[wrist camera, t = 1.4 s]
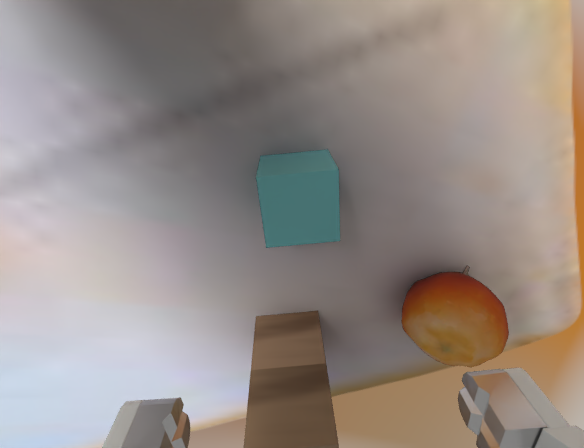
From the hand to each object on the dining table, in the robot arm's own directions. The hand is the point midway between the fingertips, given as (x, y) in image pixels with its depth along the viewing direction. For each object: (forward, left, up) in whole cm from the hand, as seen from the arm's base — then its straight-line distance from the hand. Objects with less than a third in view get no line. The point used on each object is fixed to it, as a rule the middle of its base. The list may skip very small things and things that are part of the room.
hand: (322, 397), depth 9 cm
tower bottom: (+16, -2, -17) cm, 24 cm away
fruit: (+12, +12, -18) cm, 24 cm away
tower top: (+16, -2, -11) cm, 20 cm away
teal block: (0, 0, -18) cm, 18 cm away
